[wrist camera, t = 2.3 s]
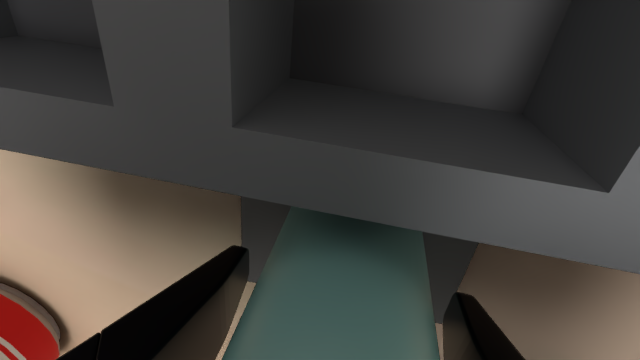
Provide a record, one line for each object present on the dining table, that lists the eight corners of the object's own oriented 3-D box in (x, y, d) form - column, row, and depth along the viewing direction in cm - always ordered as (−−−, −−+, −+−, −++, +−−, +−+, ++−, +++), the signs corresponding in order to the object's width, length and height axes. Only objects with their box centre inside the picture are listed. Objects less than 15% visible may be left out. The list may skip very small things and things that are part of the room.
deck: (439, 309, 12) (441, 324, 11) (248, 267, 12) (242, 279, 12) (498, 172, 9) (505, 183, 8) (248, 128, 10) (240, 137, 9)
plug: (403, 293, 11) (429, 817, 4) (284, 267, 11) (119, 702, 4) (439, 189, 9) (618, 886, 2) (292, 162, 9) (8, 659, 2)
